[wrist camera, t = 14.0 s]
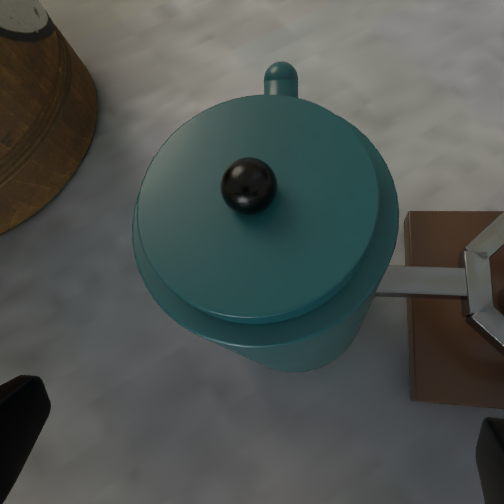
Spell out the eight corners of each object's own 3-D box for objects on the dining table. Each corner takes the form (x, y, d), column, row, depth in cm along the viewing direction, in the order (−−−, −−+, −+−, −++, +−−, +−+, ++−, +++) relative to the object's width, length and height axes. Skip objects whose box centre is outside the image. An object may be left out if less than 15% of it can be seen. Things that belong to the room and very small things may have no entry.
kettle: (594, 396, 16) (1206, 399, 5) (218, 366, 19) (60, 326, 8) (557, 181, 19) (886, -123, 8) (237, 184, 22) (142, -35, 11)
